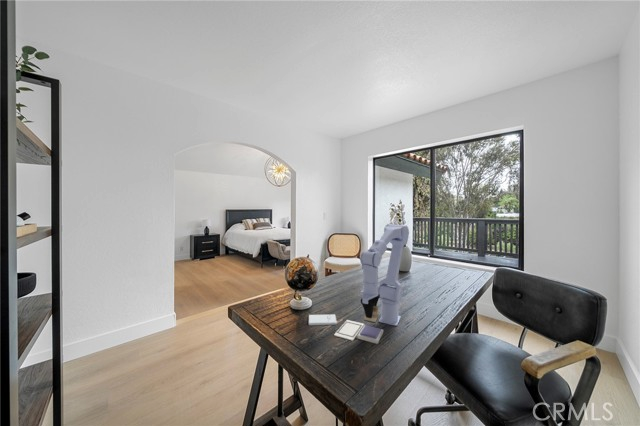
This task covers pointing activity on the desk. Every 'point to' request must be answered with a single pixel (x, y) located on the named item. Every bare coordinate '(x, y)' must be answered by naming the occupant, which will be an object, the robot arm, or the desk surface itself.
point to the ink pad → (370, 334)
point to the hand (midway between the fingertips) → (370, 314)
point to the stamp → (374, 315)
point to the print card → (349, 330)
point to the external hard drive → (322, 320)
